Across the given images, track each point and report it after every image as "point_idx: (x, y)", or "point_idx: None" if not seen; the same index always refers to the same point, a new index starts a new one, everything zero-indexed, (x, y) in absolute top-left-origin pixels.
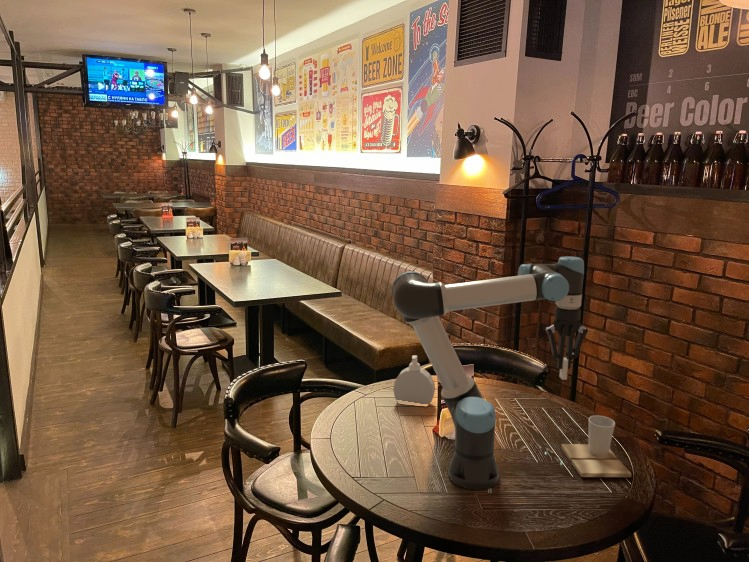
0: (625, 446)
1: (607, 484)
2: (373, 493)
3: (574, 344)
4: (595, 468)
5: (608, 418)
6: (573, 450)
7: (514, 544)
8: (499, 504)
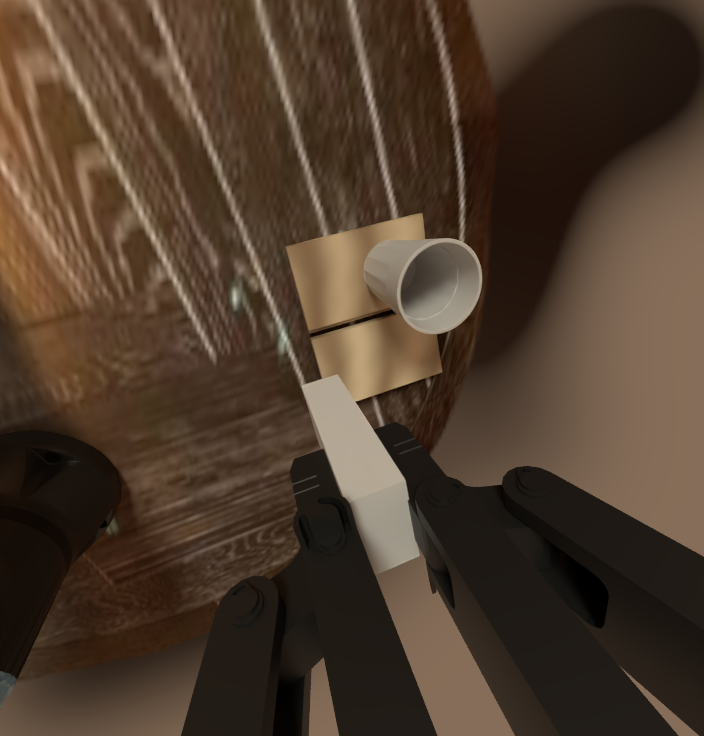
0: (471, 191)
1: (381, 405)
2: None
3: (700, 635)
4: (367, 373)
5: (470, 255)
6: (321, 283)
7: (201, 631)
8: (148, 558)
